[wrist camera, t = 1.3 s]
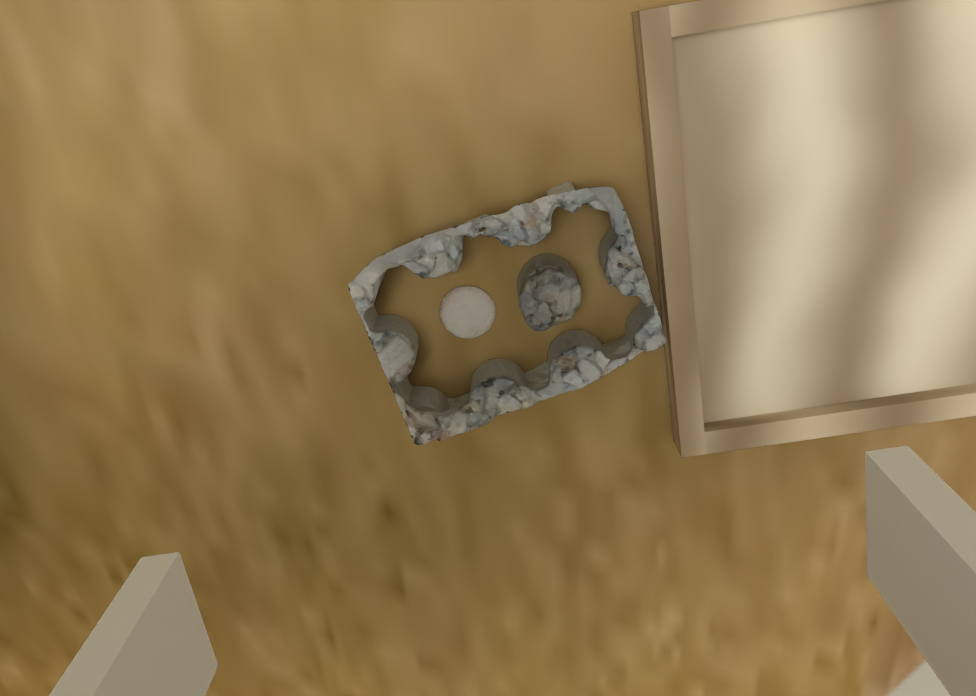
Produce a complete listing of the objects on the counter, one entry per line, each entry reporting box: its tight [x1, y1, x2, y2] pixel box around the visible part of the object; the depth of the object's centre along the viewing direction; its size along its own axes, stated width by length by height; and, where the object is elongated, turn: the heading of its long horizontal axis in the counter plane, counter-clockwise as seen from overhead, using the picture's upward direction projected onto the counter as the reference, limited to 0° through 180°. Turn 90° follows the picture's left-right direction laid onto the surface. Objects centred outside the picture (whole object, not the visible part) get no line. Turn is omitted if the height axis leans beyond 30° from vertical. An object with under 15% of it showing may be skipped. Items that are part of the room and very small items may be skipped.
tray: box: [632, 0, 976, 458], centre depth 32 cm, size 16×17×2 cm
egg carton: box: [348, 182, 667, 445], centre depth 32 cm, size 11×8×4 cm
